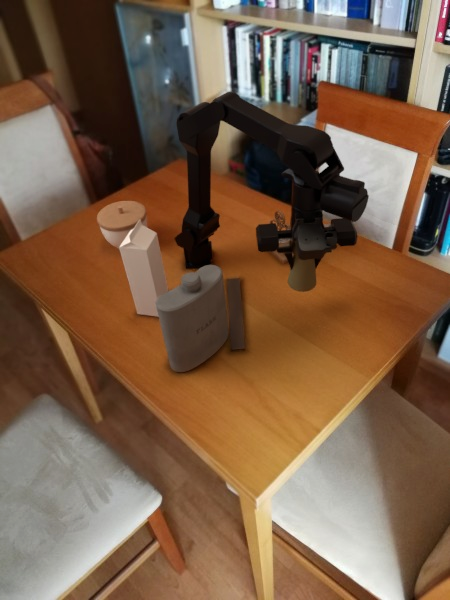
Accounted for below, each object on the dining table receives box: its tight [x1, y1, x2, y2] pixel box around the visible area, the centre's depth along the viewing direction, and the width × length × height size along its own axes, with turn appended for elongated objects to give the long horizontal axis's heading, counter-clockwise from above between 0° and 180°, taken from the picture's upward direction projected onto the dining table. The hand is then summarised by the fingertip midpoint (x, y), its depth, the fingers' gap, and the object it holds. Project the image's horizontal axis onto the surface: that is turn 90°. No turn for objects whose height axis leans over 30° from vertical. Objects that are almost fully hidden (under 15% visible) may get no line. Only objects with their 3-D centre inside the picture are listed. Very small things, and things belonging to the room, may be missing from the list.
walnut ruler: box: [226, 277, 246, 352], centre depth 105 cm, size 3×22×1 cm, turn 2°
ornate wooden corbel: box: [269, 209, 294, 264], centre depth 116 cm, size 9×4×12 cm, turn 30°
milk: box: [118, 219, 170, 318], centre depth 101 cm, size 6×6×22 cm
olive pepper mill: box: [287, 241, 317, 293], centre depth 96 cm, size 6×6×11 cm
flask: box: [155, 264, 230, 373], centre depth 91 cm, size 15×6×20 cm, turn 136°
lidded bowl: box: [96, 200, 149, 250], centre depth 124 cm, size 13×13×11 cm
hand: (303, 268), depth 97 cm, fingers closed on olive pepper mill, 4 cm apart
